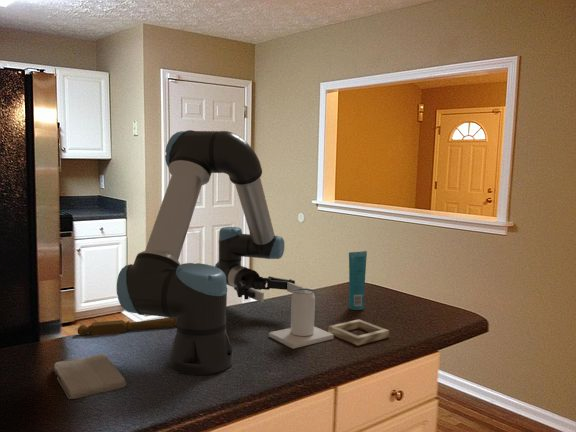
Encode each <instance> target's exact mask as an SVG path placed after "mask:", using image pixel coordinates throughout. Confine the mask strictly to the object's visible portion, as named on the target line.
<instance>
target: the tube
mask: <svg viewBox="0 0 576 432" xmlns="http://www.w3.org/2000/svg"><path fill="white" fill-rule="evenodd" d="M367 255H368V252H367V250H364V251H350V252H348V279H349V281H348V282H349V283H348V285H349V287H348V294H349V295H348V296H349V297H348V299H349V300H348V307H349V310H352V311H361V310H364V309H365V307H364V306H365V289H366V271H367V270H366V268H367Z"/></svg>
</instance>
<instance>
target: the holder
mask: <svg viewBox="0 0 576 432" xmlns="http://www.w3.org/2000/svg"><path fill="white" fill-rule="evenodd" d="M355 329H360V330H363V331H365V332H368V333H364V334H359V335H357V334H354V333H352V332H350V331H352V330H355ZM327 330H328V331H327V332H329V333H331V334H333V335H334V337H337V338H339V339H341V340H343V341H346V342H348V343H351V344H353V345H355V346H357V347H358V346H361V345H366V344H369V343H372V342H373V343H374V342H376V341H380V340H384V339H388V338H390V330H389V329H387V328H383V327H381V326H379V325H376V324H374V323H371V322H367V321H366V320H362V319H354V320H349V321H344V322H341V323H336V324H333V325H329V326H328V329H327Z"/></svg>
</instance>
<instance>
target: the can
mask: <svg viewBox="0 0 576 432" xmlns="http://www.w3.org/2000/svg"><path fill="white" fill-rule="evenodd" d="M290 303H291V305H290V307H291V309H290V328H291V333H292V334H293V335H295V336H300V337H306V336H311V335H312V334H313V333H314V326H315V309H316V305H315V303H316V297H315V293H314V290H313V289H310V288H303V287H302V288H299V289H294V290H293V293H291V302H290Z"/></svg>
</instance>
